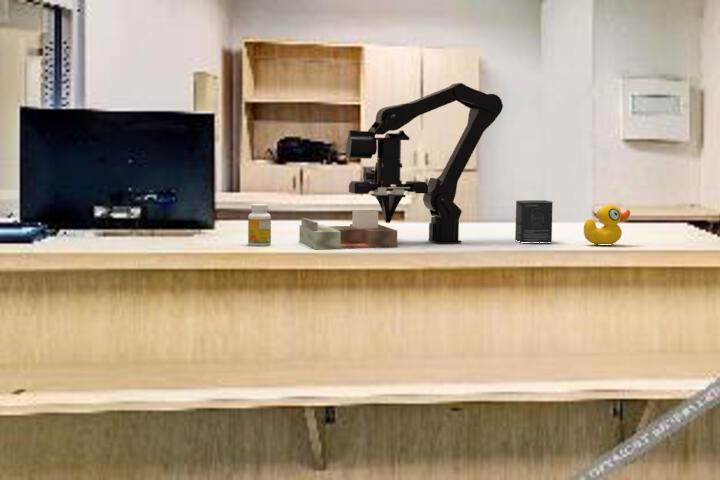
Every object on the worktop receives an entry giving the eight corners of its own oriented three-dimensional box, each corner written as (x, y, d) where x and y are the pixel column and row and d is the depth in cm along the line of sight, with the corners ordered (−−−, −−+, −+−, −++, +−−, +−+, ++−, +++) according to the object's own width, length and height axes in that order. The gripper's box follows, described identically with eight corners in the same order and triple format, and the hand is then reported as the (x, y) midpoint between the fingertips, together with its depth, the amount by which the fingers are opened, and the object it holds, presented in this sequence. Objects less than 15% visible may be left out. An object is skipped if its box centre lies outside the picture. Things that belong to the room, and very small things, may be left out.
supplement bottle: (244, 244, 225) (244, 203, 224) (265, 243, 228) (265, 203, 226) (253, 246, 220) (253, 205, 219) (274, 245, 223) (274, 204, 222)
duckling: (624, 244, 234) (626, 204, 233) (632, 246, 229) (634, 206, 228) (580, 244, 233) (581, 204, 232) (587, 246, 228) (588, 205, 227)
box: (544, 241, 239) (545, 199, 237) (551, 244, 233) (553, 201, 232) (514, 241, 237) (515, 199, 236) (521, 244, 232) (523, 201, 231)
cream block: (371, 226, 231) (372, 210, 231) (378, 228, 226) (378, 211, 226) (352, 226, 230) (352, 210, 229) (358, 228, 225) (358, 212, 224)
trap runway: (376, 239, 238) (376, 215, 237) (397, 247, 223) (397, 222, 222) (299, 241, 232) (299, 217, 231) (315, 249, 217) (315, 223, 216)
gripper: (413, 157, 238) (412, 219, 240) (342, 157, 233) (342, 220, 235) (429, 159, 228) (427, 223, 229) (355, 159, 222) (355, 224, 224)
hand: (387, 222), depth 230 cm, fingers closed
